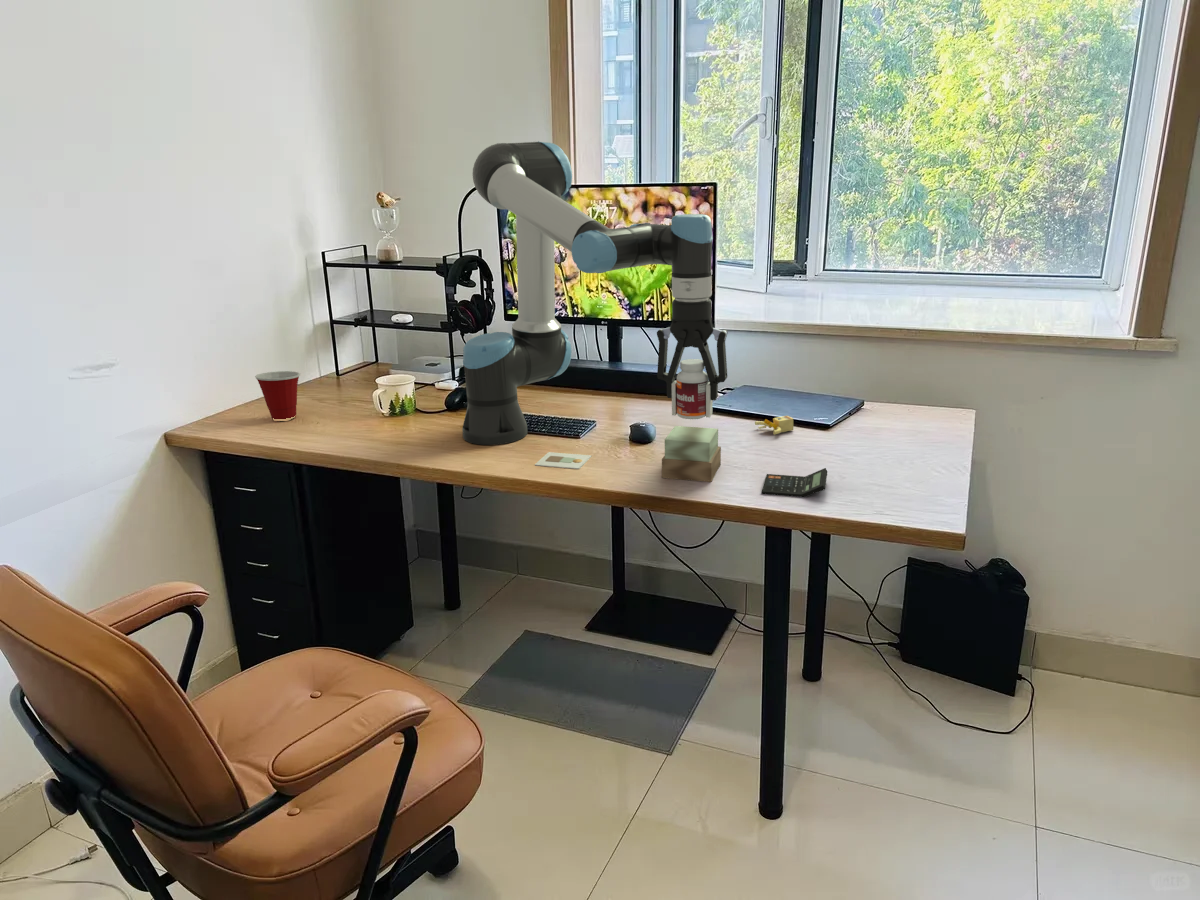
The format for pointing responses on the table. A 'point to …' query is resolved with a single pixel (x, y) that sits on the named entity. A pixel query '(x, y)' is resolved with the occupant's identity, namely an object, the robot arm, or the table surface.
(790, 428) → the character toy
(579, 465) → the page
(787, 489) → the calculator
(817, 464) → the table surface
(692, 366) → the pill bottle
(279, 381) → the plastic cup
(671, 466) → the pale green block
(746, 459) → the table surface
